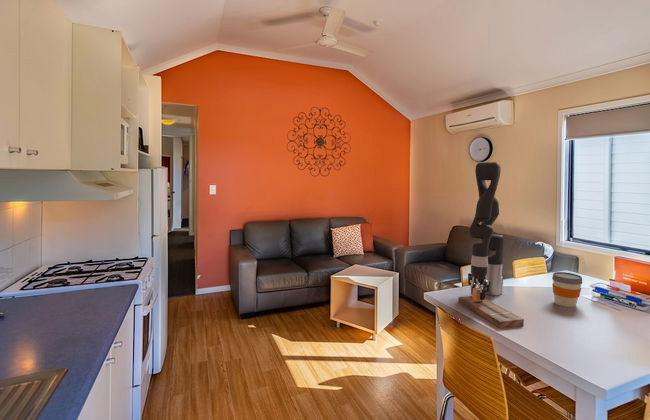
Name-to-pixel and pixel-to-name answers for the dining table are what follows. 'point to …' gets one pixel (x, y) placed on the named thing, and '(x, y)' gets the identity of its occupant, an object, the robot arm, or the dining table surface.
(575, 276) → the reusable coffee cup
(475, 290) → the fader tab
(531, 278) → the dining table surface
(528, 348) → the dining table surface
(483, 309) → the brown wooden board
